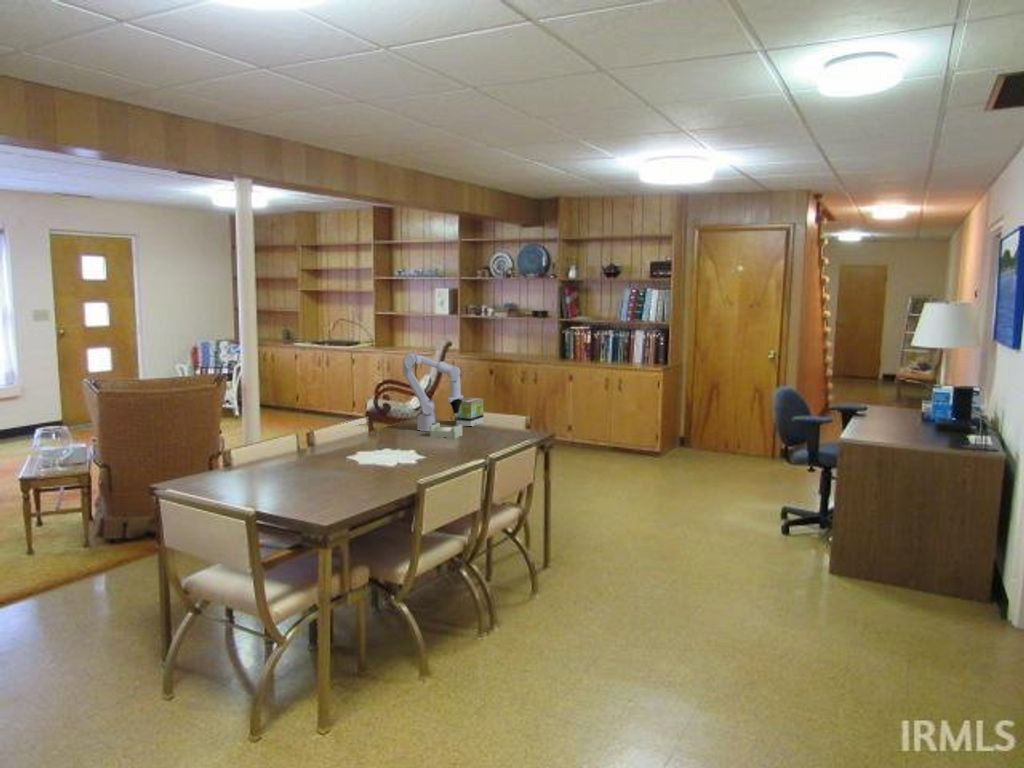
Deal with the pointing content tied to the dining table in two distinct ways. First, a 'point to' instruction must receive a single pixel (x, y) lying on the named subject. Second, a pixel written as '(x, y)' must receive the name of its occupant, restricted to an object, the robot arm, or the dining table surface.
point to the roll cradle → (448, 434)
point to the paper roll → (444, 429)
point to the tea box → (470, 412)
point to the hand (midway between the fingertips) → (455, 413)
